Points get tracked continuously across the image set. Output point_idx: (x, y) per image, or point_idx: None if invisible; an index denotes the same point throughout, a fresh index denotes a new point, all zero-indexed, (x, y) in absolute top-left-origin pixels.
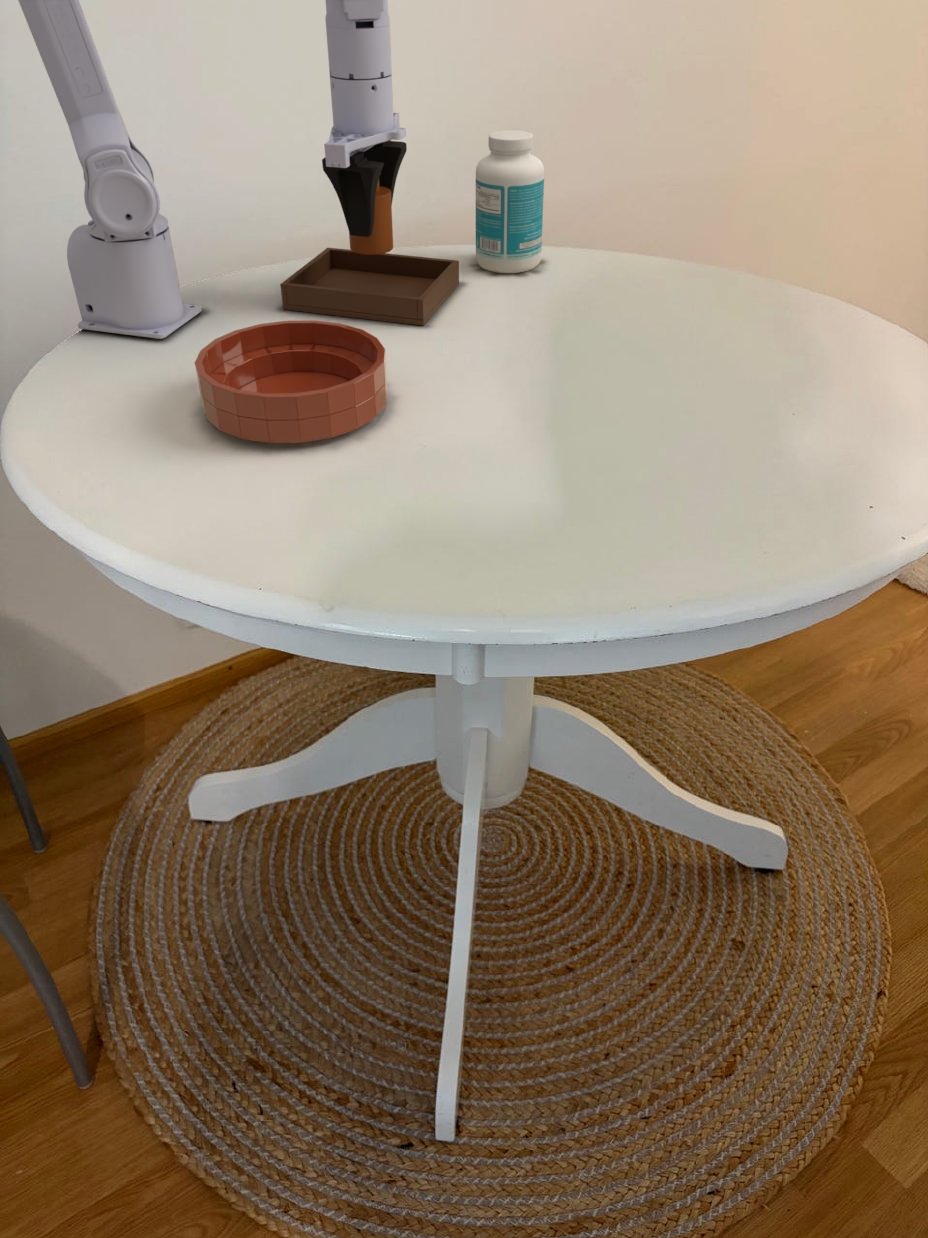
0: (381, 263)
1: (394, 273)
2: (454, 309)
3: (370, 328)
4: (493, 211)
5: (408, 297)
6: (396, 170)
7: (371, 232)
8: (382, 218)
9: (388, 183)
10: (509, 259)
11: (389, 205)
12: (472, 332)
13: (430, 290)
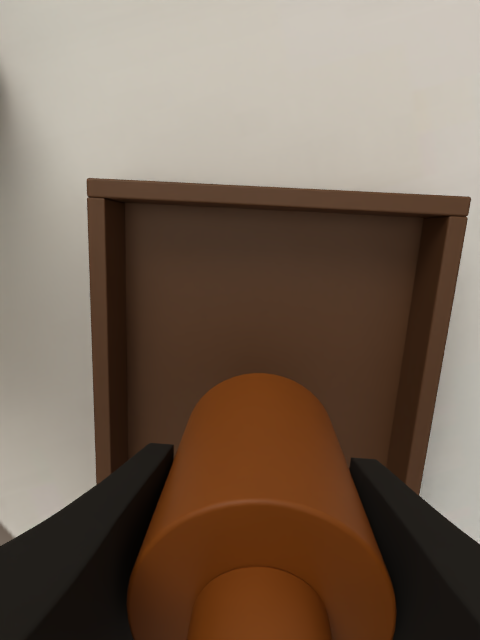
0: (119, 413)
1: (126, 370)
2: (300, 150)
3: (467, 330)
4: None
5: (457, 247)
6: (16, 576)
7: (361, 461)
8: (328, 451)
9: (109, 553)
10: None
11: (274, 458)
12: (462, 51)
13: (386, 195)
